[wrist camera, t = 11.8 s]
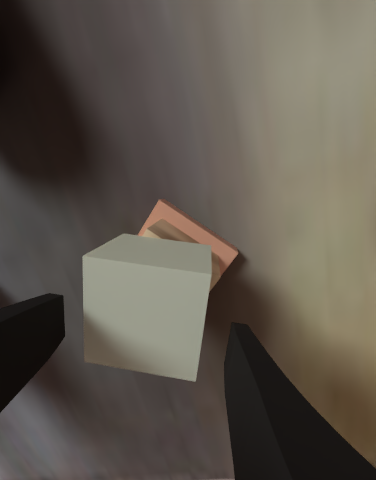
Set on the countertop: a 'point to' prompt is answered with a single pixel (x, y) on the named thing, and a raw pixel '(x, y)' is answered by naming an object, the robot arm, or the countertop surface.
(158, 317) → the sage block
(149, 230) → the maple block
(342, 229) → the countertop surface
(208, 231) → the plinth
